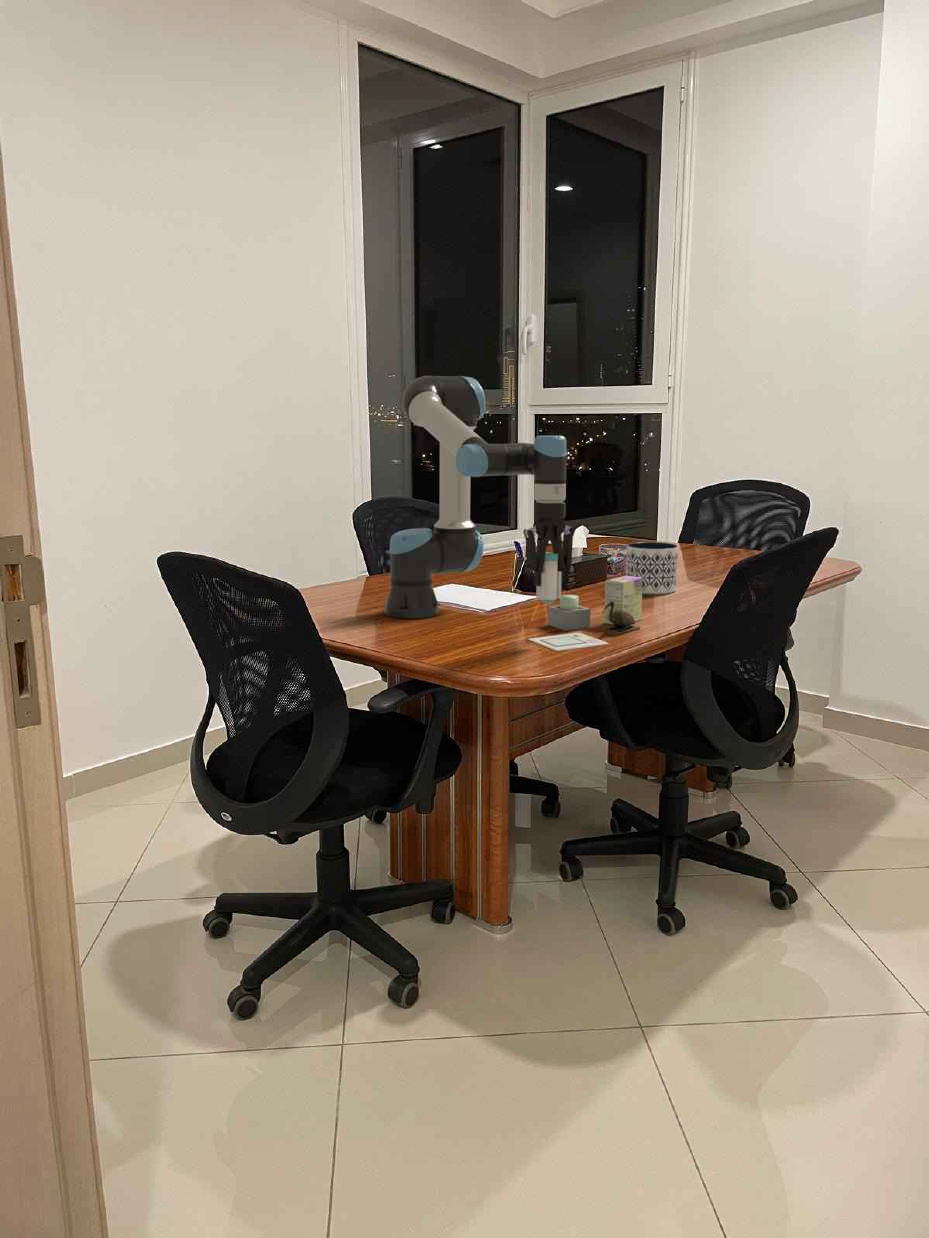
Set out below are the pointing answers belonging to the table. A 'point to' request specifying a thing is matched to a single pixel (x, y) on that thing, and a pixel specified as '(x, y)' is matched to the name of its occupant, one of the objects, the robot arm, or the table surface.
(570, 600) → the button
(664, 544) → the planter
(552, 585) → the white teal cylinder
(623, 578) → the box
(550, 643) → the sheet
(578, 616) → the button box
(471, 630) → the table surface
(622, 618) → the figurine
